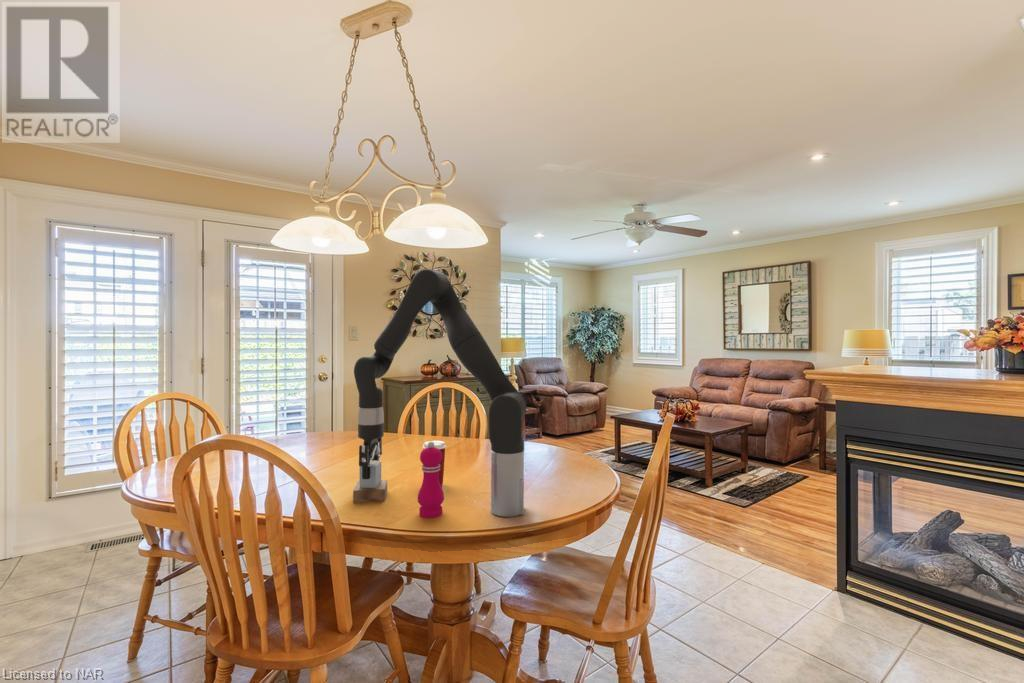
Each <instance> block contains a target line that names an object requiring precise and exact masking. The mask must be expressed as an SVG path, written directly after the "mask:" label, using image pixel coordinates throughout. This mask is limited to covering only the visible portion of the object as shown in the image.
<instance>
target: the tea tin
mask: <svg viewBox="0 0 1024 683" xmlns="http://www.w3.org/2000/svg"><path fill="white" fill-rule="evenodd" d="M365 462H366V460H365ZM381 480H382V461H381V460H379V461H378V460H371V465H370V478H369V479H362V467H361V466H359V480H358V481H359V488H376V487H377V486H379V485H380V484H381Z"/></svg>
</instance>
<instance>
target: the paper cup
mask: <svg viewBox="0 0 1024 683" xmlns="http://www.w3.org/2000/svg"><path fill="white" fill-rule="evenodd" d="M429 442H433V443H434V447H435V448H438V449H439V450H440V451H441V453H442V460H441V462H440V463H439V464H440V470H439V474H438V476H439V482H440V485H441V487H443V485H444V474H445V473H444V470H445V458H446V456H445V455H446V448H447V445H446V443H445V441H444V440H443V441H442V440H430V441H425V442H424V443H423V445H422V451H423V450H424V449H425V448H428V443H429Z"/></svg>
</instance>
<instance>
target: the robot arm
mask: <svg viewBox="0 0 1024 683" xmlns="http://www.w3.org/2000/svg"><path fill="white" fill-rule="evenodd" d="M429 302H430V303H431V304H432V305H433V307H434V308H435V310H436V311H437V313H438V314H439V316H440V317H441V319H442V321H443V323H444V327H445V331H446V335H447V338H448V343H449V345H450V346H451V348H452V351H453V352H454V354H455V355H456V357H457V358H458V361H460V363H461V364H462V366H463V367H464V368H465V369H466V370H467V371H468V372H469V373H470V374H471V375H472V376H473V377H474V378H475V379H477V380H478V381H477V382H479V383H480V384H481V385H482V386H483V388H484V390H485V391H486V393H487V394H488V396H489V398H490V400H491V402H490V405H489V407H488V436H489V437H488V438H489V442H490V449H491V450H490V513H491V514H493V515H495V516H498V517H505V518H508V517H509V518H510V517H511V518H512V517H517V516H523V515H524V514H525V513H524V512H525V510H524V508H525V506H524V504H525V492H524V491H525V442H524V441H525V440H524V439H523V435H522V433H523V432H522V431H523V430H522V428H523V427H522V420H523V419H524V417H525V415H526V413H527V404H526V401H525V399H524V397H523V396H522V394H521V393H520V391H518V390H517V388H516V387H515V386H514V384H513V383H512V382H511V381H510V379H509V378H508V376H507V375H506V374H505V372H504V371H503V369H502V368H501V365H500V364H499V362H498V359H497V358H496V356H495V355H494V353H493V351H492V350H491V348H490V346H489V345H488V342H487V341H486V339H485V338H484V336H483V335H482V332H480V330H479V329H478V327H477V325H475V323H474V321H473V320H472V318H471V317H470V315H469V314H468V313H467V311H466V309H465V308H464V307H463V304H462V303H461V301H460V300H459V297H458V295H457V293H456V292H455V289H454V287H453V285H452V283H451V281H450V279H449V277H448V276H447V275H446V274H445V273H443V272H441V271H438V270H434V269H430V268H423V269H420V270H419V271H417V272H416V273H415V274H414V276H413V277H412V279H411V281H410V283H409V285H408V287H407V289H406V292H405V293H404V296H403V297H402V299H401V302H400V303H399V305H398V307H397V309H396V310H395V312H394V314H393V316H392V317H391V319H390V320H389V321H388V323H387V325H386V326H385V327H384V329H383V330H382V332H380V335H379V336H378V337H377V339H376V340H375V341H374V345H373V348H374V350H375V352H374V353H373V354H372V355H369V356H368V355H367V356H362V357H359V358H358V359H357V360H356V362H355V364H354V367H353V376H354V380H355V384H356V389H357V392H358V413H357V437H358V439H360V440H363V444H362V445H359V448H358V466H359V467H360V466H361V467H362V479H369V478H370V465H371V460H378V461H380V459H381V455H382V454H383V448H382V447H383V445H382V444H383V443H382V442H383V437H384V434H385V432H384V430H385V428H384V427H385V422H384V420H385V419H384V418H385V417H384V416H385V413H384V392H383V389H382V388H381V387H379V386H378V387H377V382H376V379H380V378H382V377H383V376H385V375H386V373H387V372H388V371H389V369H390V368H391V365H392V363H393V361H394V358H395V355H396V354H397V353H398V352H399V350H400V349H401V348H402V346H403V344H404V343H405V342H406V340H407V338H408V337H409V335H410V333H411V330H412V327H413V324H414V321H415V319H417V318H416V317H417V316H418V315H419V313H420V312H421V311H422V309H423V308H424V307H425V306H426V305H427V304H428V303H429ZM365 461H366V462H365Z"/></svg>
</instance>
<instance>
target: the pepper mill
mask: <svg viewBox="0 0 1024 683" xmlns="http://www.w3.org/2000/svg"><path fill="white" fill-rule="evenodd" d="M419 459H420V462H421V464H422V465H421V468H422V469H421V471H422V472H423V478H422V482H421V487H420V488H419V491H418V493H417V503H418V504H419V505H420V507H419V514H418V515H419V516H420V517H422V518H426V519H431V518H432V519H433V518H434V519H435V518H438V517H440V516H441V515H442V514H443V506H442V504H443V502H444V501H445V494H444V490H443V488H442V487H443V486H441V485H440V482H439V476H438V474H439V470H440V464H439V463H440V462H441V460H442V453H441V451H440V450H439V449H438V448H435V447H434V443H433V442H429V443H428V448H425V449H424V450H423V449H422V450H421V452H420V454H419Z"/></svg>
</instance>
